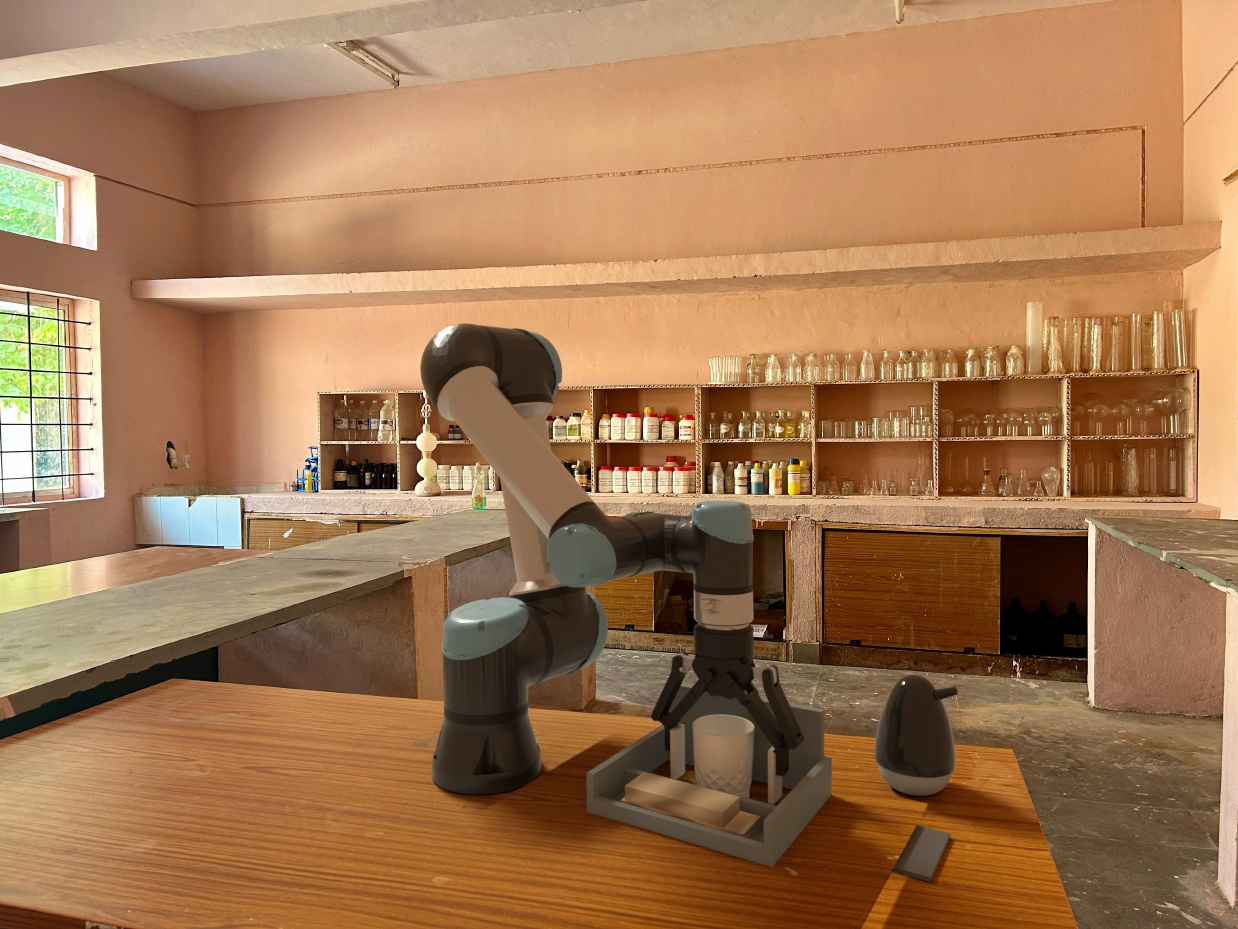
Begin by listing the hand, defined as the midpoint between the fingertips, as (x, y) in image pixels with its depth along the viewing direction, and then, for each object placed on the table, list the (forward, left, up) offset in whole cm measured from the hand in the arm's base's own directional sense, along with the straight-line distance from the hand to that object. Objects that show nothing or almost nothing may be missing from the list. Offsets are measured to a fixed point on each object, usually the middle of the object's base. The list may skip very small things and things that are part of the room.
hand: (724, 787), depth 105 cm
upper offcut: (-1, -9, +1) cm, 10 cm away
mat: (+21, 0, -2) cm, 21 cm away
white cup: (0, 0, -2) cm, 2 cm away
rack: (0, -3, -2) cm, 4 cm away
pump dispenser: (+20, +17, -2) cm, 26 cm away
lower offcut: (0, -9, -1) cm, 10 cm away
